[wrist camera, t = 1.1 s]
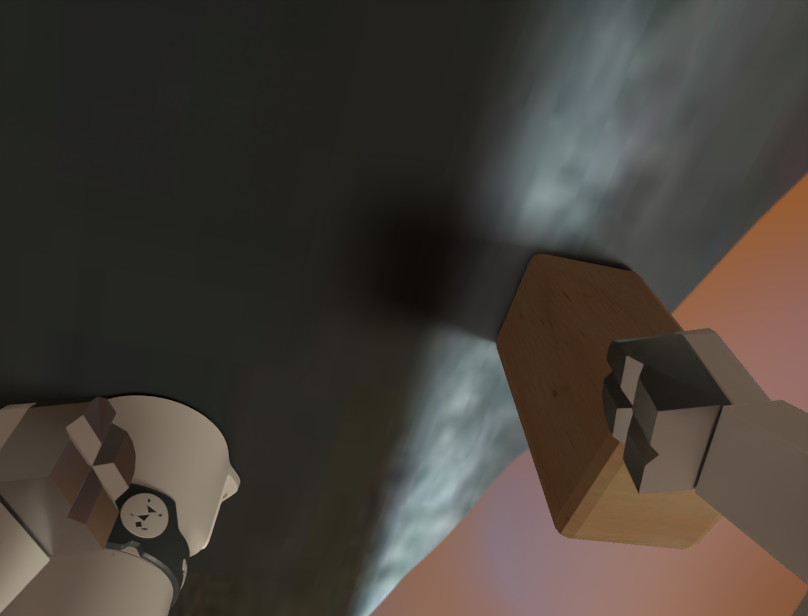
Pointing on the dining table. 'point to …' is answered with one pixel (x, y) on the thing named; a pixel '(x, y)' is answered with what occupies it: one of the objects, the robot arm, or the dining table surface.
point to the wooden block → (588, 402)
